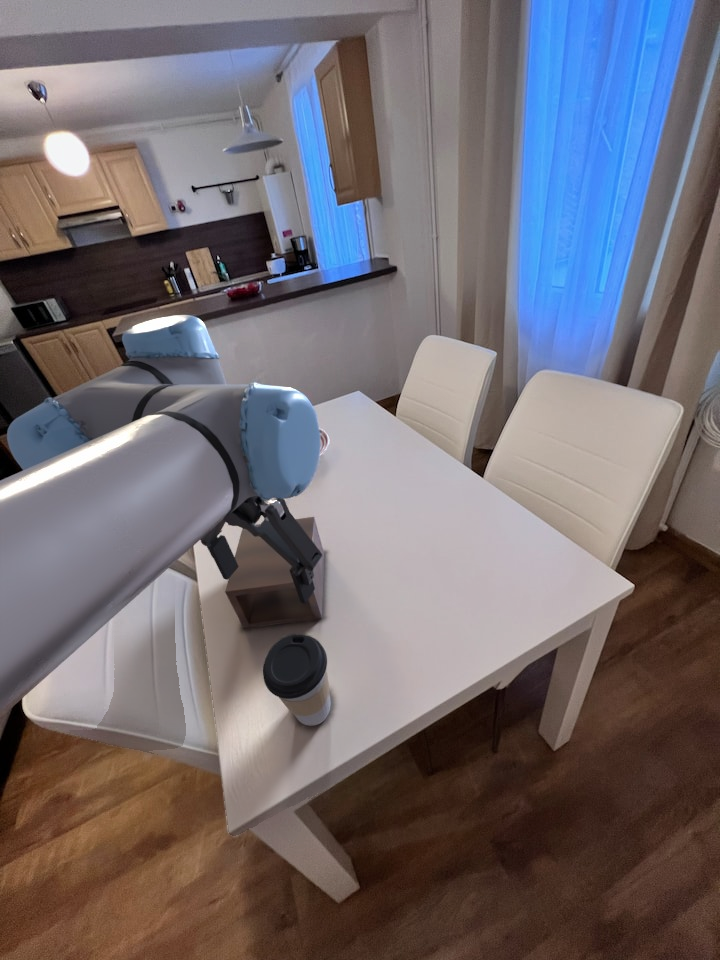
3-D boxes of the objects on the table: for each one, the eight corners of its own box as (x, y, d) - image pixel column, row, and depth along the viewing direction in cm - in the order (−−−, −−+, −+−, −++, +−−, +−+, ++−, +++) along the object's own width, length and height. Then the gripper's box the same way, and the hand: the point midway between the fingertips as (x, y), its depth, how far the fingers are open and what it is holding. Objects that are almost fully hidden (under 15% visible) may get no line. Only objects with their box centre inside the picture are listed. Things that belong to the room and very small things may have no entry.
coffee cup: (333, 671, 71) (316, 620, 62) (348, 725, 63) (331, 675, 55) (280, 691, 69) (256, 642, 60) (290, 749, 62) (263, 702, 53)
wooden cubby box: (322, 618, 80) (310, 580, 73) (243, 628, 81) (224, 591, 74) (324, 553, 95) (314, 516, 88) (257, 562, 95) (242, 526, 89)
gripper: (328, 456, 43) (356, 584, 56) (164, 434, 53) (218, 547, 66) (292, 498, 38) (331, 630, 50) (118, 466, 48) (186, 582, 60)
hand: (267, 583), depth 58 cm, fingers open, 13 cm apart
